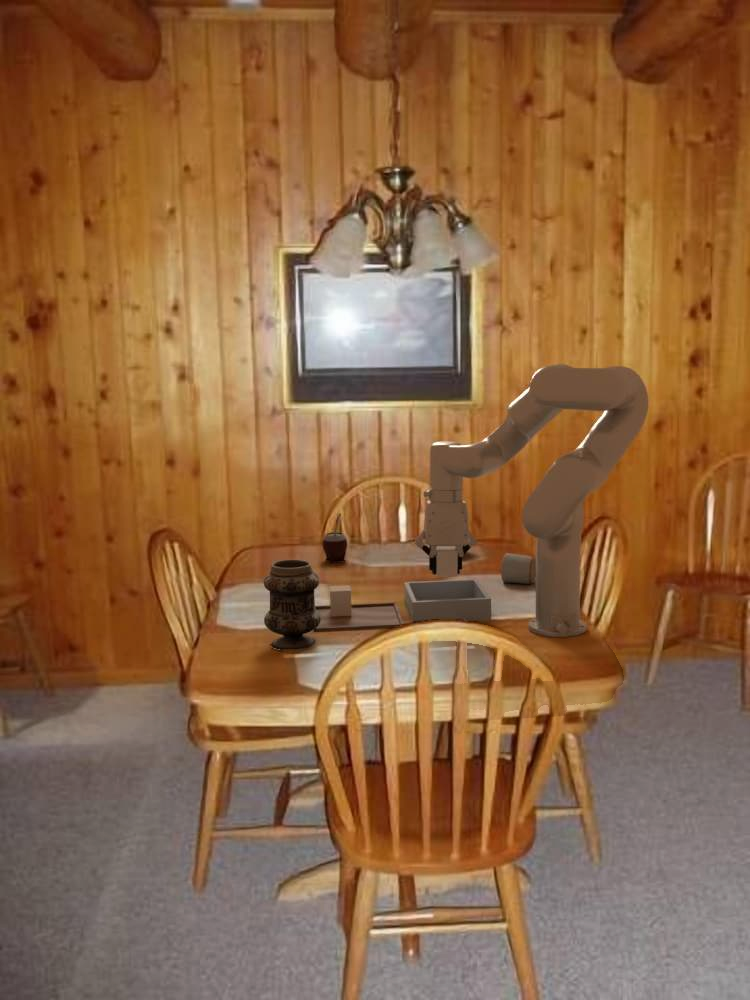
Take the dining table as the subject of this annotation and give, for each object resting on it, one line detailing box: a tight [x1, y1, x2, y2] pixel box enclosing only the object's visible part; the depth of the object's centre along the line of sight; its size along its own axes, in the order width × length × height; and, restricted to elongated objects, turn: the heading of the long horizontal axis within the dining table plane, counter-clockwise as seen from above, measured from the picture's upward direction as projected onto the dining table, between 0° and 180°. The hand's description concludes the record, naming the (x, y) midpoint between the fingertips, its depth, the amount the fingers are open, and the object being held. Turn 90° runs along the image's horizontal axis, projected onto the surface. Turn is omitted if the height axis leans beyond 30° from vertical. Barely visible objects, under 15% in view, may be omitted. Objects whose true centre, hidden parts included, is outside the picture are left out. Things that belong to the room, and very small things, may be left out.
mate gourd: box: [322, 513, 348, 564], centre depth 283 cm, size 8×8×15 cm
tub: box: [403, 578, 492, 622], centre depth 231 cm, size 18×18×5 cm
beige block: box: [435, 546, 458, 578], centre depth 227 cm, size 5×5×6 cm
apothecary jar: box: [263, 558, 321, 651], centre depth 208 cm, size 12×12×18 cm
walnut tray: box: [313, 601, 405, 632], centre depth 226 cm, size 18×20×1 cm
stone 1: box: [329, 584, 352, 617], centre depth 229 cm, size 5×5×6 cm
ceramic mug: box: [500, 552, 536, 585], centre depth 256 cm, size 11×8×8 cm
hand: (445, 572), depth 227 cm, fingers closed on beige block, 4 cm apart
